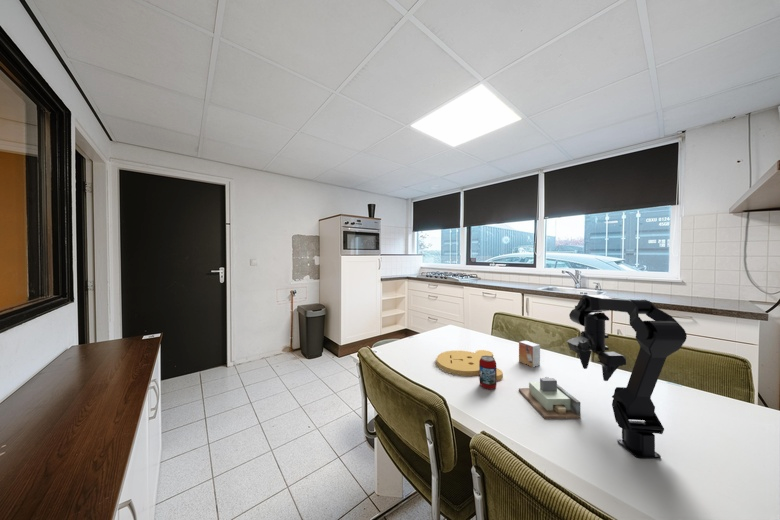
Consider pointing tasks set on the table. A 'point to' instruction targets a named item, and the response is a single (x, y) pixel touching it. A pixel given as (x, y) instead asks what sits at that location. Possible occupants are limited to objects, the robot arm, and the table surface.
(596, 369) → the table surface
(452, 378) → the table surface
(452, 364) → the decorative plaque
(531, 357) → the small box
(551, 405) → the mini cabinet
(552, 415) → the cleat board
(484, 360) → the beverage can
